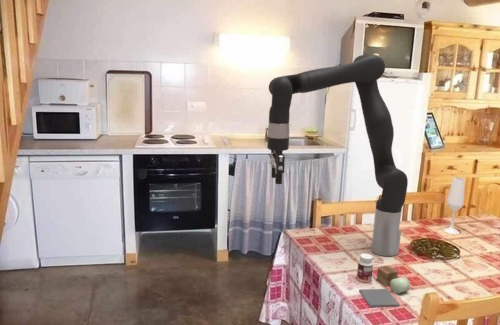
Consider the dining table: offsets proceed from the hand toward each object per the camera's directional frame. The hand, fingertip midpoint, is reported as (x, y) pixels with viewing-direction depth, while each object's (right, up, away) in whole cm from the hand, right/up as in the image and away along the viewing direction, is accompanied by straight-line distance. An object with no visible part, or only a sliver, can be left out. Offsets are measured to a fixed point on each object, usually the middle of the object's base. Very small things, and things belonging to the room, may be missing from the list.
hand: (276, 180), depth 150 cm
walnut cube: (+36, -33, -11) cm, 50 cm away
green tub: (+36, -32, -18) cm, 52 cm away
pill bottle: (+28, -33, -10) cm, 44 cm away
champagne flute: (+80, -24, +36) cm, 91 cm away
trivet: (+30, -35, -22) cm, 51 cm away
